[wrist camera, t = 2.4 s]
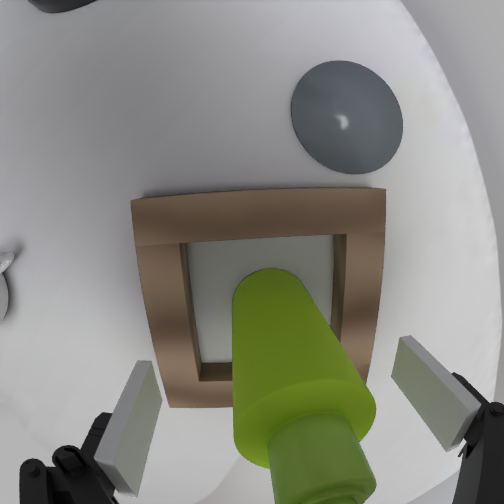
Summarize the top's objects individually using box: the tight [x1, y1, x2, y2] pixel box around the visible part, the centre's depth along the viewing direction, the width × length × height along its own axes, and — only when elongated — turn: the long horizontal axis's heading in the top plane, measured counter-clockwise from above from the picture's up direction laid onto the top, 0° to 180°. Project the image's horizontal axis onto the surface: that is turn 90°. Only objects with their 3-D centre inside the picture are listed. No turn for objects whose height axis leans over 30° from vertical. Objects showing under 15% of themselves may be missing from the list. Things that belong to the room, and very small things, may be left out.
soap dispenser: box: [232, 269, 376, 504], centre depth 13 cm, size 6×7×20 cm
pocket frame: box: [131, 187, 386, 408], centre depth 21 cm, size 17×17×2 cm
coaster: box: [291, 61, 403, 174], centre depth 19 cm, size 9×9×1 cm
